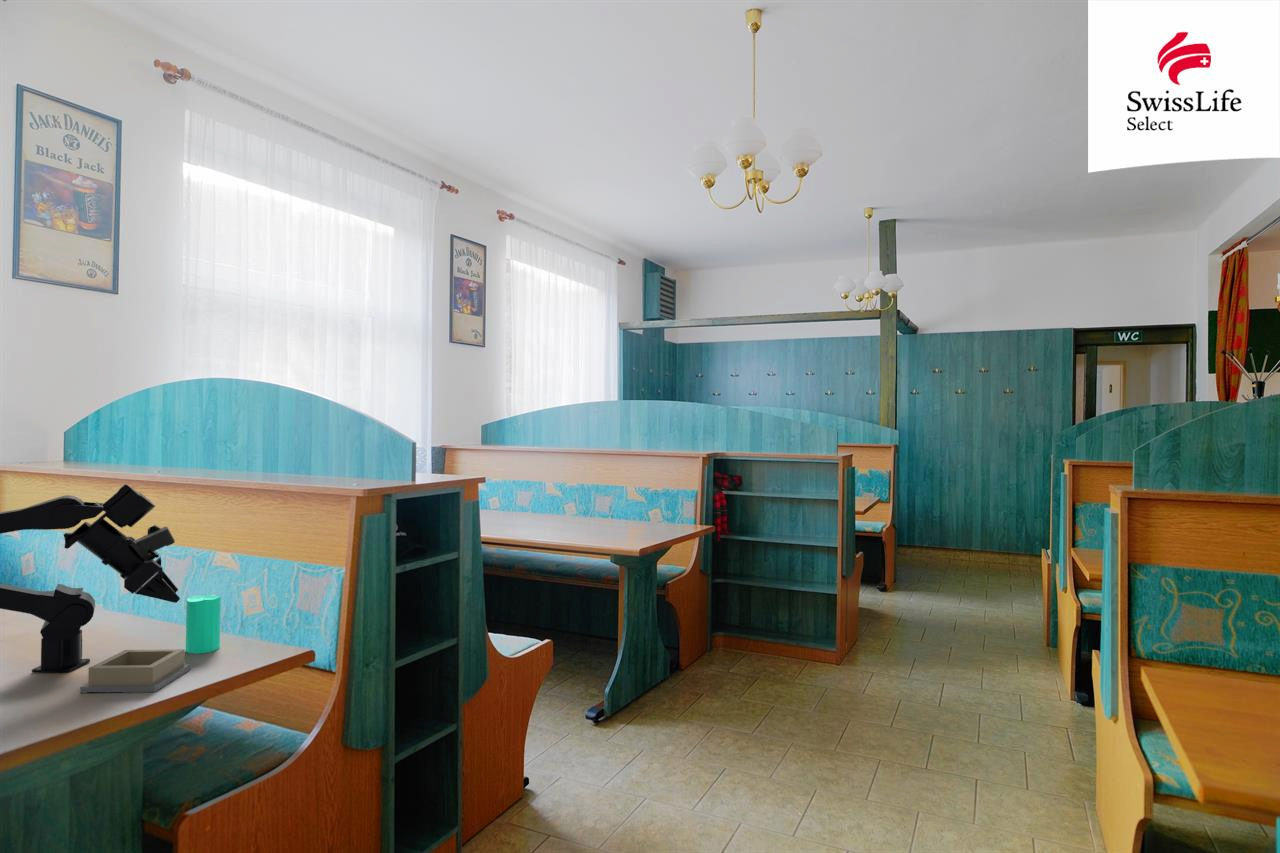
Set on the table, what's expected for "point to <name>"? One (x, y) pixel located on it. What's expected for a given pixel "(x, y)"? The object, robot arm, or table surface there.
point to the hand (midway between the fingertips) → (177, 596)
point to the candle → (203, 624)
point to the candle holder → (136, 671)
